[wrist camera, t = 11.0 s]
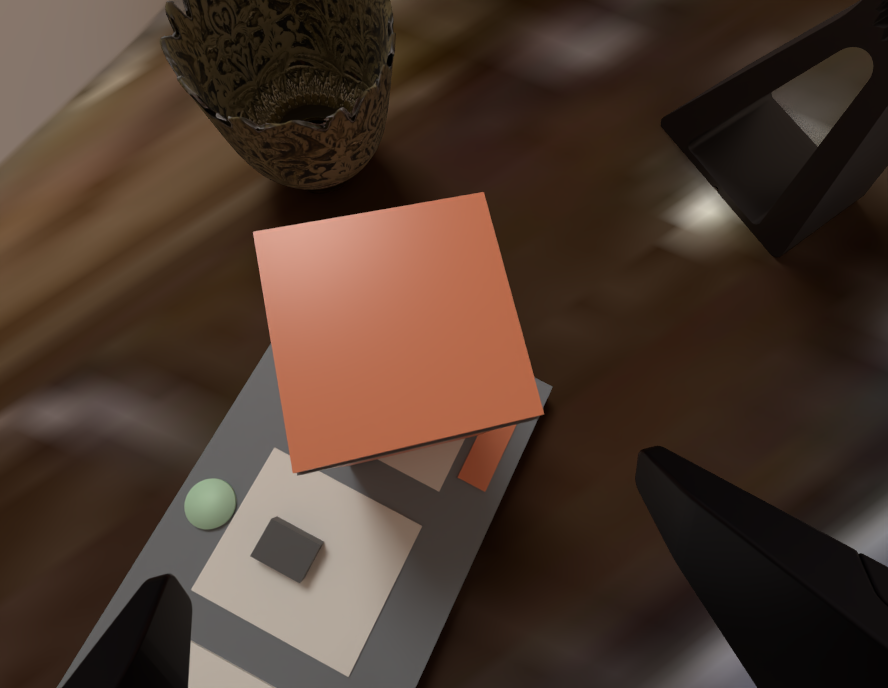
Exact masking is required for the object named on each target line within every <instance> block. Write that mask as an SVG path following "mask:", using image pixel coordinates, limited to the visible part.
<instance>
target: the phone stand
mask: <svg viewBox="0 0 888 688" xmlns="http://www.w3.org/2000/svg"><path fill="white" fill-rule="evenodd" d="M848 47H859V48H862V49H864V50H866V51H867V52H868V53H869V54H870V56H871V57H872V60H873V65H874V67H873V73H872V76H871V78H870V79H869V81H868V82H867V83H866V85H865V86H864V87H863V89H862V90H861V91H860V93H859V94H858V95H857V96H856V98H855V99H854V100H853V102H852V103H851V104H850V106H849V107H848V108H847V110H846V111H845V112H844V113H843V115H842V116H841V117H840V119H839V120H838V121H837V123H836V124H835V125H834V127H833V128H832V129H831V131H830V132H829V133H828V134H827V136H826V137H825V138H824V140H823V141H822V142H821V144H820V145H819V146H818V147H817V146H816V145H815V144H814V143H813V141H812V140H811V139H810V138H809V137H808V136H807V135H806V134H805V133H804V132H803V130H802V129H801V128H800V127H799V126H798V125H797V124H796V123H795V122H794V121H793V120H792V118H791V117H790V116H789V115H788V114H787V113H786V112H785V111H784V110H783V109H782V108H781V106H780V105H779V104H778V103H777V102H776V101H775V100H774V99H773V98H772V95H771V92H772V91H774V90H775V89H777V88H779V87H780V86H782V85H784V84H785V83H787V82H789V81H790V80H792V79H794V78H795V77H797V76H799V75H800V74H802V73H804V72H805V71H807V70H808V69H810V68H812V67H813V66H815V65H817V64H818V63H820V62H822V61H823V60H825V59H827V58H828V57H830V56H832V55H833V54H835V53H837V52H838V51H840V50H842V49H844V48H848ZM661 126H662V128H663V129H664V130H665V131H666V133H667V134H668V135H669V136H670V137H671V138H672V140H673V141H674V142H675V143H676V144H677V145H678V147H679V148H680V149H681V150H682V151H683V152H684V154H685V155H686V156H687V157H688V158H689V159H690V161H691V162H692V163H693V164H694V165H695V166H696V168H697V169H698V170H699V171H700V172H701V173H702V175H703V176H704V177H705V178H706V179H707V180H708V182H709V183H710V184H711V185H712V186H716V187H717V188H718V193H719V194H720V196H721V197H722V198H723V199H724V200H725V201H726V203H727V204H728V205H729V206H730V207H731V208H732V210H733V211H734V212H735V213H736V214H737V215H738V217H739V218H740V219H741V220H742V221H743V222H744V224H745V225H746V226H747V227H748V228H749V229H750V231H751V232H752V233H753V234H754V235H755V236H756V238H757V239H758V240H759V241H760V242H761V243H762V245H763V246H764V247H765V248H766V249H767V250H768V252H769V253H770V254H771V255H772V256H775V257H780V256H782V255H783V254H784V253H786V252H787V251H788V250H790V249H791V248H793V247H794V246H795V245H797V244H798V243H799V242H801V241H802V240H803V239H805V238H806V237H808V236H809V235H810V234H812V233H813V232H814V231H816V230H817V229H818V228H820V227H821V226H823V225H824V224H825V223H827V222H828V221H829V220H831V219H832V218H833V217H835V216H836V215H838V214H839V213H840V212H842V211H843V210H844V209H846V208H847V207H849V206H850V205H851V204H853V203H854V202H855V201H857V200H858V199H859V198H861V197H862V196H864V195H865V193H866V192H867V191H868V190H869V188H870V187H871V186H872V184H873V183H874V182H875V181H876V179H877V178H878V177H879V176H880V174H881V173H882V172H883V171H884V169H885V168H886V167H887V166H888V0H861V1H859V2H857V3H855V4H854V5H852V6H850V7H848V8H847V9H845V10H843V11H841V12H840V13H838V14H836V15H834V16H833V17H831V18H829V19H828V20H826V21H824V22H822V23H821V24H819V25H817V26H815V27H814V28H812V29H810V30H808V31H807V32H805V33H803V34H801V35H800V36H798V37H796V38H794V39H793V40H791V41H789V42H787V43H786V44H784V45H782V46H780V47H779V48H777V49H775V50H773V51H772V52H770V53H768V54H767V55H765V56H763V57H761V58H760V59H758V60H756V61H754V62H753V63H751V64H749V65H747V66H746V67H744V68H742V69H741V70H739V71H738V72H736V73H734V74H733V75H731V76H729V77H728V78H726V79H725V80H723V81H721V82H720V83H718V84H717V85H715V86H713V87H712V88H710V89H708V90H707V91H705V92H704V93H702V94H700V95H699V96H697V97H696V98H694V99H692V100H691V101H689V102H687V103H686V104H684V105H683V106H681V107H679V108H678V109H676V110H675V111H673V112H671V113H670V114H668V115H666V116H665V117H663V118H662V120H661Z"/></svg>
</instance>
